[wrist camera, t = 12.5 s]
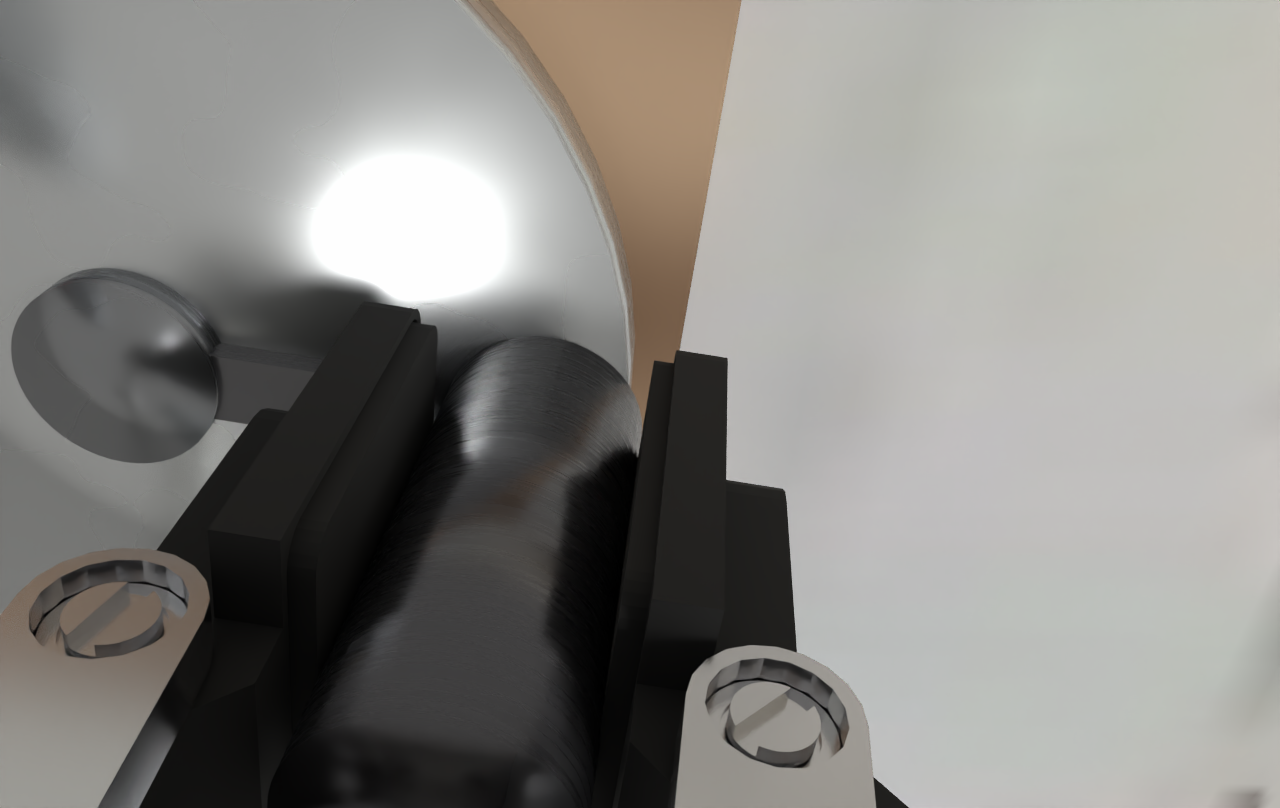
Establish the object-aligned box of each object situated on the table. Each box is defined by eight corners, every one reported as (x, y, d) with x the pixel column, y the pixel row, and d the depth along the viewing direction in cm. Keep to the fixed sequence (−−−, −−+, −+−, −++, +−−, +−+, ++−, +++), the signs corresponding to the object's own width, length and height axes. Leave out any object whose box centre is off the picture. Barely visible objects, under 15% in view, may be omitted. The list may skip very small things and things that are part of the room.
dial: (594, 721, 16) (519, 1234, 10) (-180, 601, 16) (-668, 1053, 10) (730, -109, 10) (725, 46, 5) (-465, -301, 10) (-1861, -368, 5)
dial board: (616, 685, 18) (607, 762, 17) (-332, 537, 18) (-420, 602, 16) (858, -690, 10) (879, -765, 8) (-928, -983, 9) (-1212, -1110, 8)
